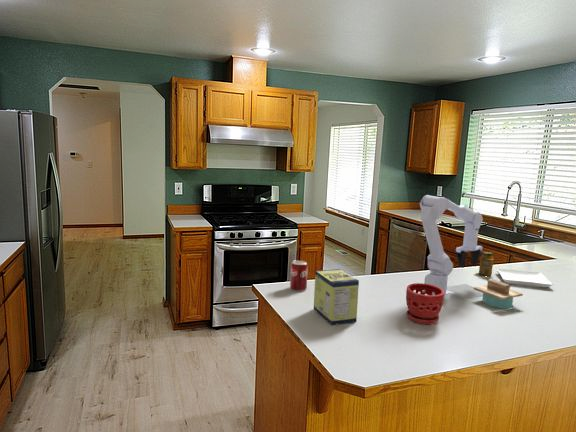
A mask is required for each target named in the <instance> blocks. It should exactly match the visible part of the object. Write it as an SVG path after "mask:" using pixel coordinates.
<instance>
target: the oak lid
mask: <svg viewBox="0 0 576 432" xmlns="http://www.w3.org/2000/svg"><path fill="white" fill-rule="evenodd" d="M473 287H474V290H477V291H480V292H482V293H485V294H488V295H490V296H493V297H496V298H498V299H501V300H502V299H507V298H513V299H514V298H519V297H522V296H523V295H524V294H523V293H521V292H519V291H516V290H513V289H511V288H510V287H511V284H509V283H506V282H501V281H500V280H497V279H493V278H492V279H488V280H487V284H486V285H482V286H480V285H479V286H473Z"/></svg>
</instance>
